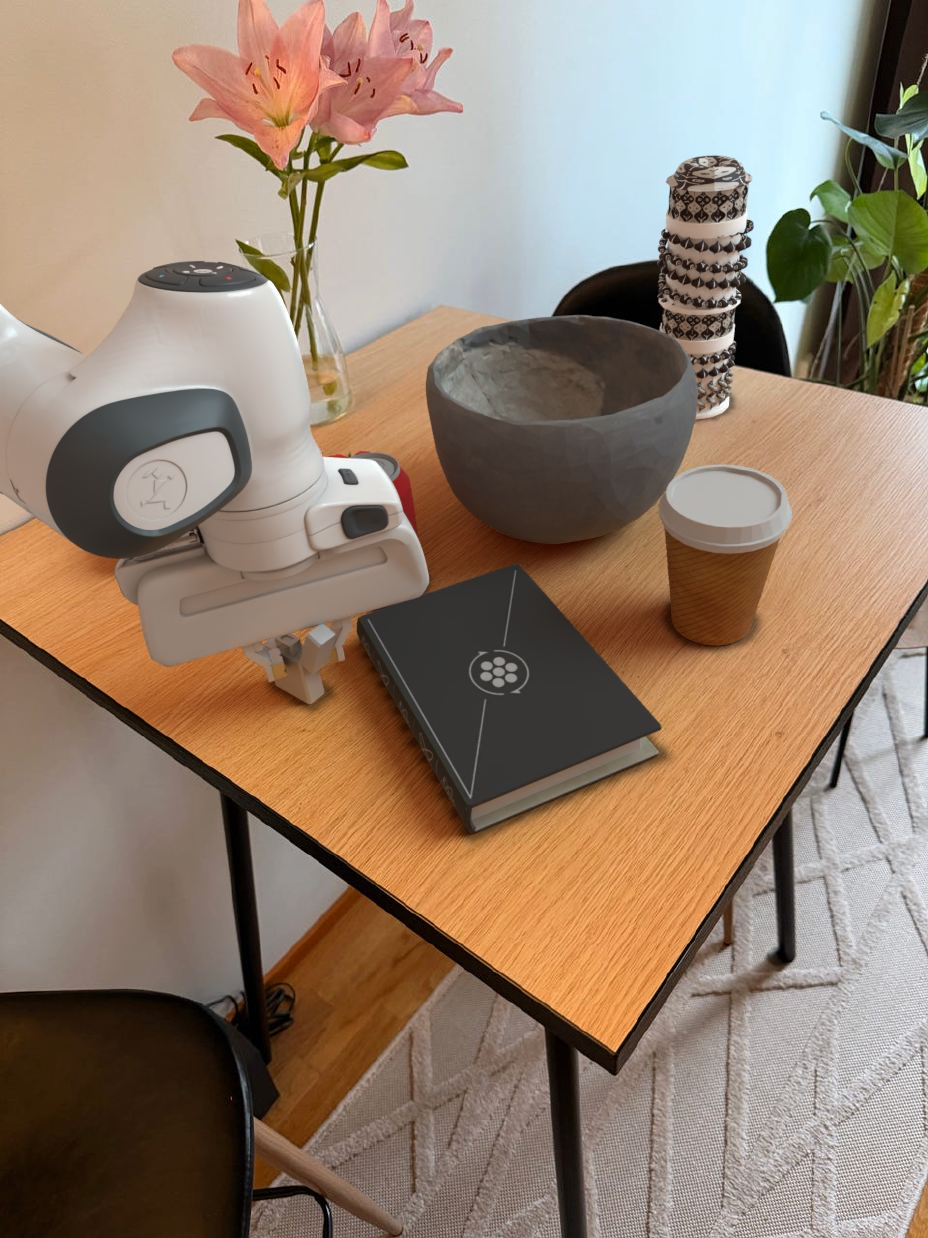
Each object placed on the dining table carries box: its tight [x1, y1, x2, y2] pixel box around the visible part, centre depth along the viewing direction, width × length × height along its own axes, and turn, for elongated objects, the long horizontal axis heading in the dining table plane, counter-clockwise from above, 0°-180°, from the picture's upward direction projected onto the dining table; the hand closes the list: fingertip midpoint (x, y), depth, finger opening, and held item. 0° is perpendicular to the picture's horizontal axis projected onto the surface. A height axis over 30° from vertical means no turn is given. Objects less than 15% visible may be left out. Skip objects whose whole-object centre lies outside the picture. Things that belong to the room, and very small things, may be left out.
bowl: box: [425, 314, 698, 545], centre depth 84 cm, size 24×24×15 cm
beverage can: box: [349, 452, 420, 540], centre depth 77 cm, size 7×7×12 cm
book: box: [356, 562, 663, 835], centre depth 68 cm, size 22×15×3 cm
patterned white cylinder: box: [657, 155, 755, 421], centre depth 95 cm, size 9×9×25 cm
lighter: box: [263, 623, 336, 705], centre depth 68 cm, size 7×2×8 cm, turn 51°
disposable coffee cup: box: [657, 463, 793, 646], centre depth 70 cm, size 10×10×12 cm
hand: (306, 666), depth 69 cm, fingers closed on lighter, 3 cm apart
